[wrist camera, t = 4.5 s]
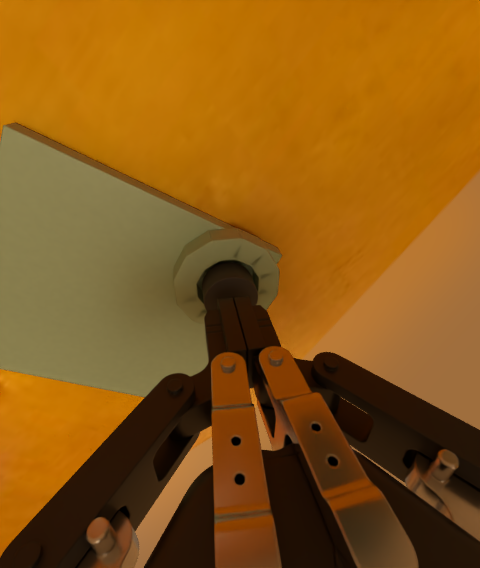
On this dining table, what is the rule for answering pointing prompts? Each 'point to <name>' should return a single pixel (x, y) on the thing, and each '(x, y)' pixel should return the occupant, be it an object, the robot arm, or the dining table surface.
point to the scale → (106, 270)
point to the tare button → (227, 284)
